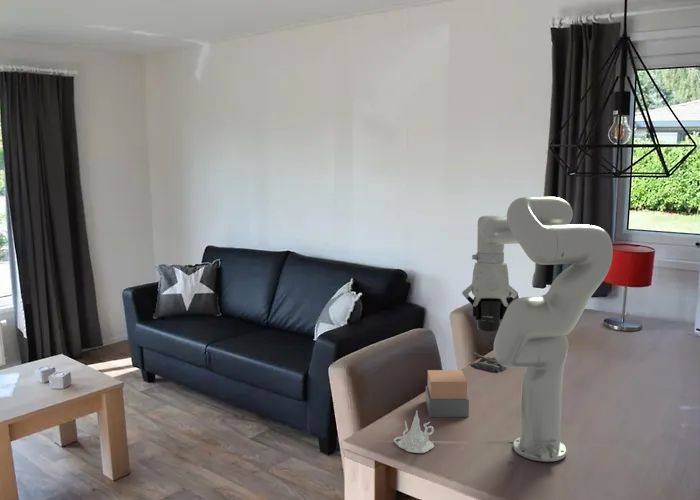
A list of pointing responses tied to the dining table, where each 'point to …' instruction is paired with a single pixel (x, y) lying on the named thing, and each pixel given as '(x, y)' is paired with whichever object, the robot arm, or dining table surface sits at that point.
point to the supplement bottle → (489, 315)
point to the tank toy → (488, 364)
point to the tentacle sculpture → (415, 438)
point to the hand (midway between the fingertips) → (489, 318)
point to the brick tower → (447, 394)
